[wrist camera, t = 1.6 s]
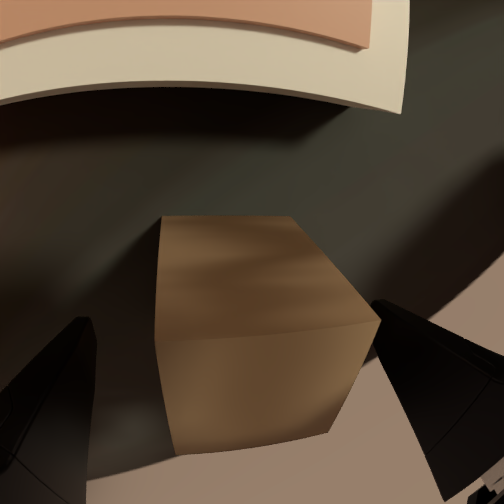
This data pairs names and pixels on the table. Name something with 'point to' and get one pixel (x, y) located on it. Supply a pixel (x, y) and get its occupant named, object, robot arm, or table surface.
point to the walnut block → (253, 332)
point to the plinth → (208, 47)
